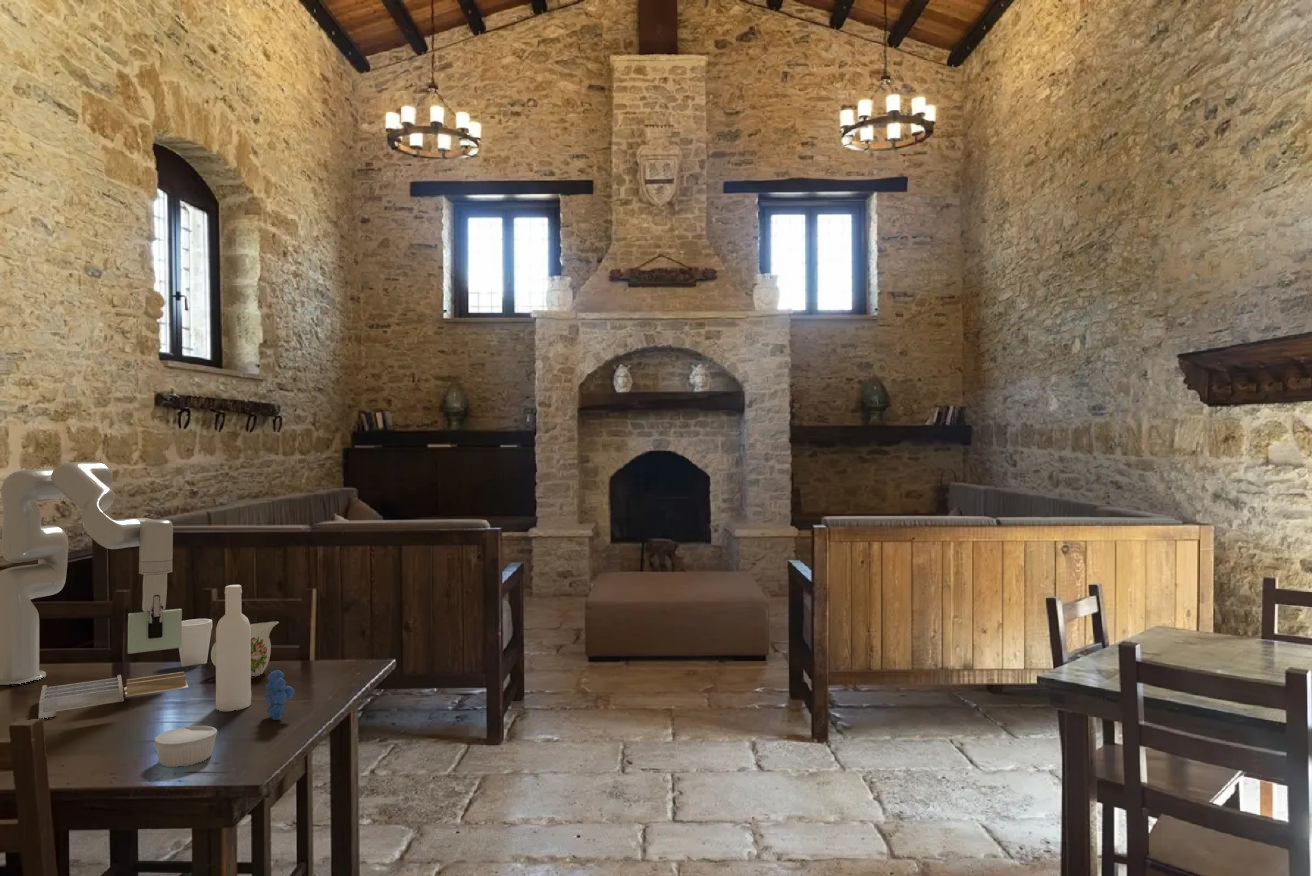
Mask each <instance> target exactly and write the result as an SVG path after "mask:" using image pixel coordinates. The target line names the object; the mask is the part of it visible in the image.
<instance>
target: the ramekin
mask: <svg viewBox="0 0 1312 876" xmlns="http://www.w3.org/2000/svg"><path fill="white" fill-rule="evenodd" d="M217 729H218V728H215V727H213V726H210V725H209V726H208V725H191V726H189V725H188V726H183V727H178V728H174V729H170V730H167V731H164V732H163V733H160V734H159V735H157V736H156V737H154V740H153V741H154V742H153V743H154V746H155V748H156V754H157V759H158V762H159V763H160V764H161V766H163V767H166V768H179V767H178V766H184V767H189V765H190V766H194V765H196V764H195V763H197V764H199V763H198V762H200V763H202V761H203V762H205V761H206V759H207V758H208V759H210V758H211V756H212V754H213V752H214V748H215V742H216V737H217V736H218V730H217ZM208 759H207V760H208ZM204 760H205V761H204ZM193 764H194V765H193Z"/></svg>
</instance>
